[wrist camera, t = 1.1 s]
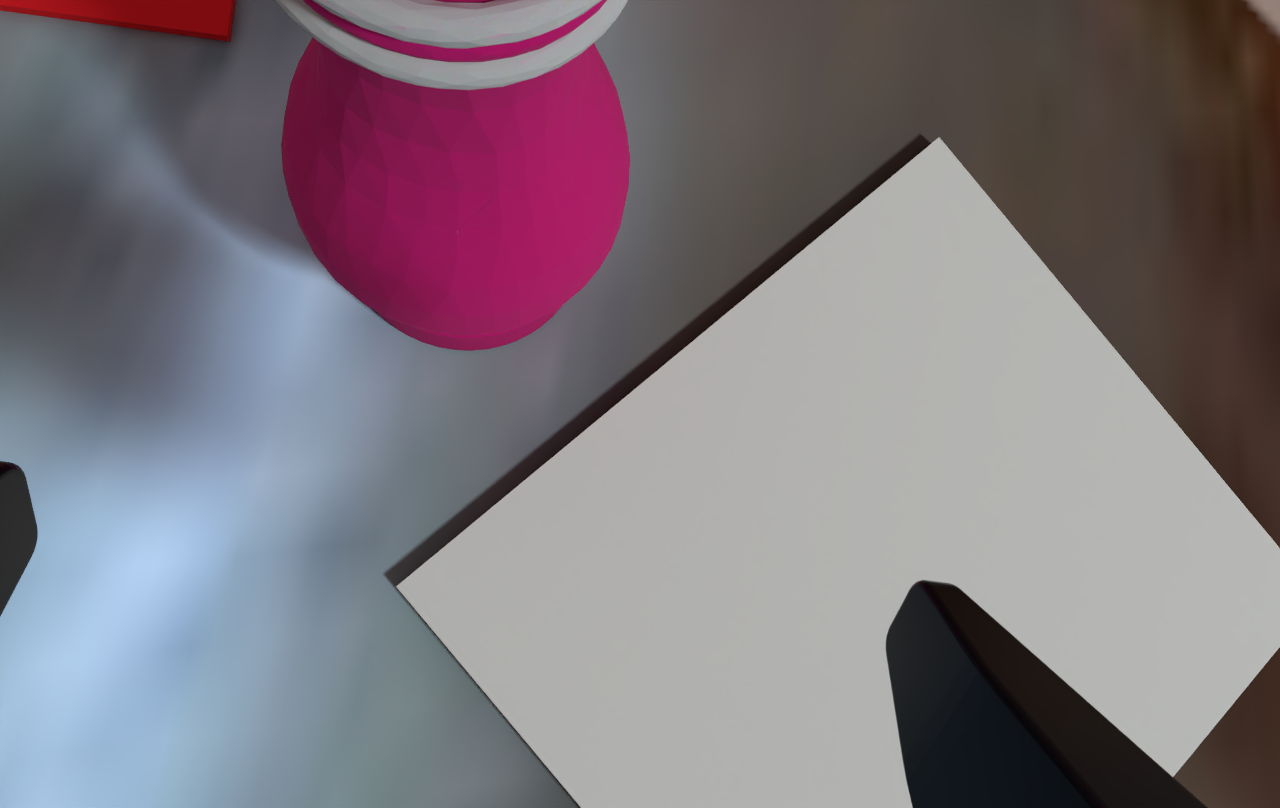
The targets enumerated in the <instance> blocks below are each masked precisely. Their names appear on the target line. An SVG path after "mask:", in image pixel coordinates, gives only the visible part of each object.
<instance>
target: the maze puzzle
mask: <svg viewBox="0 0 1280 808" xmlns="http://www.w3.org/2000/svg"><path fill="white" fill-rule="evenodd" d="M234 7H235V0H0V10H2V11H9V12H16V13H24V14H31V15H38V16H46V17H53V18H60V19H68V20H75V21H82V22H90V23H97V24H105V25H112V26H119V27H127V28H134V29H141V30H149V31H156V32H163V33H171V34H178V35H185V36H193V37H200V38H207V39H215V40H222V41H230V38H231V30H232V22H233V15H234Z"/></svg>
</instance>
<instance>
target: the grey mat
mask: <svg viewBox="0 0 1280 808" xmlns="http://www.w3.org/2000/svg"><path fill="white" fill-rule="evenodd" d="M920 580H929V581H937V582H944V583H950V584H953V585H955V586H957V587H958V588H960V589H961V590H962V591H963V592H964V593H965V594H967V595H968V596H969V597H970V598H971V599H972V600H973V601H974V602H976V603H977V604H978V605H979V606H980V607H981V608H982V609H984V610H985V611H986V612H987V613H988V614H989V615H990V616H991V617H993V618H994V619H995V620H996V621H997V622H998V623H999V624H1000V625H1002V626H1003V627H1004V628H1005V629H1006V630H1007V631H1008V632H1010V633H1011V634H1012V635H1013V636H1014V637H1015V638H1016V639H1017V640H1019V641H1020V642H1021V643H1022V644H1023V645H1024V646H1025V647H1026V648H1028V649H1029V650H1030V651H1031V652H1032V653H1033V654H1034V655H1036V656H1037V657H1038V658H1039V659H1040V660H1041V661H1042V662H1043V663H1045V664H1046V665H1047V666H1048V667H1049V668H1050V669H1051V670H1052V671H1054V672H1055V673H1056V674H1057V675H1058V676H1059V677H1060V678H1061V679H1063V680H1064V681H1065V682H1066V683H1067V684H1068V685H1069V686H1071V687H1072V688H1073V689H1074V690H1075V691H1076V692H1077V693H1078V694H1080V695H1081V696H1082V697H1083V698H1084V699H1085V700H1086V701H1087V702H1089V703H1090V704H1091V705H1092V706H1093V707H1094V708H1095V709H1097V710H1098V711H1099V712H1100V713H1101V714H1102V715H1103V716H1104V717H1106V718H1107V719H1108V720H1109V721H1110V722H1111V723H1112V724H1113V725H1115V726H1116V727H1117V728H1118V729H1119V730H1120V731H1121V732H1123V733H1124V734H1125V735H1126V736H1127V737H1128V738H1129V739H1130V740H1132V741H1133V742H1134V743H1135V744H1136V745H1137V746H1138V747H1139V748H1141V749H1142V750H1143V751H1144V752H1145V753H1146V754H1147V755H1148V756H1150V757H1151V758H1152V759H1153V760H1154V761H1155V762H1156V763H1158V764H1159V765H1160V766H1161V767H1162V768H1163V769H1164V770H1165V771H1167V772H1168V773H1169V774H1170V775H1171V776H1172V777H1173V776H1174V775H1175V774H1176V773H1177V772H1178V770H1179V769H1180V768H1181V767H1182V765H1183V764H1184V763H1185V762H1186V761H1187V759H1188V758H1189V757H1190V756H1191V754H1192V753H1193V752H1194V751H1195V750H1196V748H1197V747H1198V746H1199V745H1200V743H1201V742H1202V741H1203V740H1204V739H1205V737H1206V736H1207V735H1208V734H1209V732H1210V731H1211V730H1212V729H1213V728H1214V726H1215V725H1216V724H1217V723H1218V721H1219V720H1220V719H1221V718H1222V717H1223V715H1224V714H1225V713H1226V712H1227V711H1228V709H1229V708H1230V707H1231V706H1232V704H1233V703H1234V702H1235V701H1236V700H1237V698H1238V697H1239V696H1240V695H1241V693H1242V692H1243V691H1244V690H1245V689H1246V687H1247V686H1248V685H1249V684H1250V682H1251V681H1252V680H1253V679H1254V678H1255V676H1256V675H1257V674H1258V673H1259V671H1260V670H1261V669H1262V668H1263V667H1264V665H1265V664H1266V663H1267V662H1268V660H1269V659H1270V658H1271V657H1272V656H1273V654H1274V653H1275V652H1276V651H1277V649H1278V648H1279V647H1280V548H1279V547H1278V546H1277V545H1276V543H1275V542H1274V541H1273V540H1272V538H1271V537H1270V536H1269V535H1268V534H1267V532H1266V531H1265V530H1264V529H1263V528H1262V526H1261V525H1260V524H1259V523H1258V522H1257V520H1256V519H1255V518H1254V517H1253V516H1252V514H1251V513H1250V512H1249V511H1248V509H1247V508H1246V507H1245V506H1244V505H1243V503H1242V502H1241V501H1240V500H1239V499H1238V497H1237V496H1236V495H1235V494H1234V493H1233V491H1232V490H1231V489H1230V488H1229V487H1228V485H1227V484H1226V483H1225V482H1224V481H1223V479H1222V478H1221V477H1220V476H1219V474H1218V473H1217V472H1216V471H1215V470H1214V468H1213V467H1212V466H1211V465H1210V464H1209V462H1208V461H1207V460H1206V459H1205V458H1204V456H1203V455H1202V454H1201V453H1200V452H1199V450H1198V449H1197V448H1196V447H1195V445H1194V444H1193V443H1192V442H1191V441H1190V439H1189V438H1188V437H1187V436H1186V435H1185V433H1184V432H1183V431H1182V430H1181V429H1180V427H1179V426H1178V425H1177V424H1176V423H1175V421H1174V420H1173V419H1172V418H1171V417H1170V415H1169V414H1168V413H1167V412H1166V410H1165V409H1164V408H1163V407H1162V406H1161V404H1160V403H1159V402H1158V401H1157V400H1156V398H1155V397H1154V396H1153V395H1152V394H1151V392H1150V391H1149V390H1148V389H1147V388H1146V386H1145V385H1144V384H1143V383H1142V381H1141V380H1140V379H1139V378H1138V377H1137V375H1136V374H1135V373H1134V372H1133V371H1132V369H1131V368H1130V367H1129V366H1128V365H1127V363H1126V362H1125V361H1124V360H1123V359H1122V357H1121V356H1120V355H1119V354H1118V353H1117V351H1116V350H1115V349H1114V348H1113V346H1112V345H1111V344H1110V343H1109V342H1108V340H1107V339H1106V338H1105V337H1104V336H1103V334H1102V333H1101V332H1100V331H1099V330H1098V328H1097V327H1096V326H1095V325H1094V324H1093V322H1092V321H1091V320H1090V319H1089V317H1088V316H1087V315H1086V314H1085V313H1084V311H1083V310H1082V309H1081V308H1080V307H1079V305H1078V304H1077V303H1076V302H1075V301H1074V299H1073V298H1072V297H1071V296H1070V295H1069V293H1068V292H1067V291H1066V290H1065V289H1064V287H1063V286H1062V285H1061V284H1060V282H1059V281H1058V280H1057V279H1056V278H1055V276H1054V275H1053V274H1052V273H1051V272H1050V270H1049V269H1048V268H1047V267H1046V266H1045V264H1044V263H1043V262H1042V261H1041V260H1040V258H1039V257H1038V256H1037V255H1036V253H1035V252H1034V251H1033V250H1032V249H1031V247H1030V246H1029V245H1028V244H1027V243H1026V241H1025V240H1024V239H1023V238H1022V237H1021V235H1020V234H1019V233H1018V232H1017V231H1016V229H1015V228H1014V227H1013V226H1012V225H1011V223H1010V222H1009V221H1008V220H1007V218H1006V217H1005V216H1004V215H1003V214H1002V212H1001V211H1000V210H999V209H998V208H997V206H996V205H995V204H994V203H993V202H992V200H991V199H990V198H989V197H988V196H987V194H986V193H985V192H984V191H983V189H982V188H981V187H980V186H979V185H978V183H977V182H976V181H975V180H974V179H973V177H972V176H971V175H970V174H969V173H968V171H967V170H966V169H965V168H964V167H963V165H962V164H961V163H960V162H959V161H958V159H957V158H956V157H955V156H954V154H953V153H952V152H951V151H950V150H949V148H948V147H947V146H946V145H945V144H944V142H943V141H942V140H941V139H940V138H938V139H936V140H935V141H934V142H933V143H932V144H930V145H929V146H928V147H927V148H925V149H924V150H923V151H922V152H921V153H919V154H918V155H917V156H916V157H915V158H913V159H912V160H911V161H910V162H909V163H907V164H906V165H905V166H904V167H903V168H901V169H900V170H899V171H898V172H896V173H895V174H894V175H893V176H892V177H890V178H889V179H888V180H887V181H886V182H884V183H883V184H882V185H881V186H880V187H878V188H877V189H876V190H875V191H874V192H872V193H871V194H870V195H869V196H867V197H866V198H865V199H864V200H863V201H861V202H860V203H859V204H858V205H857V206H855V207H854V208H853V209H852V210H851V211H849V212H848V213H847V214H846V215H845V216H843V217H842V218H841V219H840V220H838V221H837V222H836V223H835V224H834V225H832V226H831V227H830V228H829V229H828V230H826V231H825V232H824V233H823V234H822V235H820V236H819V237H818V238H817V239H816V240H814V241H813V242H812V243H811V244H809V245H808V246H807V247H806V248H805V249H803V250H802V251H801V252H800V253H799V254H797V255H796V256H795V257H794V258H793V259H791V260H790V261H789V262H788V263H787V264H785V265H784V266H783V267H782V268H780V269H779V270H778V271H777V272H776V273H774V274H773V275H772V276H771V277H770V278H768V279H767V280H766V281H765V282H764V283H762V284H761V285H760V286H759V287H758V288H756V289H755V290H754V291H753V292H751V293H750V294H749V295H748V296H747V297H745V298H744V299H743V300H742V301H741V302H739V303H738V304H737V305H736V306H735V307H733V308H732V309H731V310H730V311H729V312H727V313H726V314H725V315H724V316H722V317H721V318H720V319H719V320H718V321H716V322H715V323H714V324H713V325H712V326H710V327H709V328H708V329H707V330H706V331H704V332H703V333H702V334H701V335H700V336H698V337H697V338H696V339H695V340H693V341H692V342H691V343H690V344H689V345H687V346H686V347H685V348H684V349H683V350H681V351H680V352H679V353H678V354H677V355H675V356H674V357H673V358H672V359H671V360H669V361H668V362H667V363H666V364H664V365H663V366H662V367H661V368H660V369H658V370H657V371H656V372H655V373H654V374H652V375H651V376H650V377H649V378H648V379H646V380H645V381H644V382H643V383H641V384H640V385H639V386H638V387H637V388H635V389H634V390H633V391H632V392H631V393H629V394H628V395H627V396H626V397H625V398H623V399H622V400H621V401H620V402H619V403H617V404H616V405H615V406H614V407H612V408H611V409H610V410H609V411H608V412H606V413H605V414H604V415H603V416H602V417H600V418H599V419H598V420H597V421H596V422H594V423H593V424H592V425H591V426H590V427H588V428H587V429H586V430H585V431H583V432H582V433H581V434H580V435H579V436H577V437H576V438H575V439H574V440H573V441H571V442H570V443H569V444H568V445H567V446H565V447H564V448H563V449H562V450H561V451H559V452H558V453H557V454H556V455H554V456H553V457H552V458H551V459H550V460H548V461H547V462H546V463H545V464H544V465H542V466H541V467H540V468H539V469H538V470H536V471H535V472H534V473H533V474H532V475H530V476H529V477H528V478H527V479H525V480H524V481H523V482H522V483H521V484H519V485H518V486H517V487H516V488H515V489H513V490H512V491H511V492H510V493H509V494H507V495H506V496H505V497H504V498H503V499H501V500H500V501H499V502H498V503H496V504H495V505H494V506H493V507H492V508H490V509H489V510H488V511H487V512H486V513H484V514H483V515H482V516H481V517H480V518H478V519H477V520H476V521H475V522H474V523H472V524H471V525H470V526H469V527H467V528H466V529H465V530H464V531H463V532H461V533H460V534H459V535H458V536H457V537H455V538H454V539H453V540H452V541H451V542H449V543H448V544H447V545H446V546H445V547H443V548H442V549H441V550H440V551H438V552H437V553H436V554H435V555H434V556H432V557H431V558H430V559H429V560H428V561H426V562H425V563H424V564H423V565H422V566H420V567H419V568H418V569H417V570H416V571H414V572H413V573H412V574H411V575H409V576H408V577H407V578H406V579H405V580H403V581H402V582H401V583H400V584H399V585H397V586H396V587H397V588H398V589H399V591H400V592H401V593H402V594H403V595H404V597H405V598H406V599H407V600H408V601H409V603H410V604H411V605H412V606H413V607H414V609H415V610H416V611H417V612H418V613H419V614H420V616H421V617H422V618H423V619H424V620H425V622H426V623H427V624H428V625H429V626H430V628H431V629H432V630H433V631H434V632H435V634H436V635H437V636H438V637H439V638H440V640H441V641H442V642H443V643H444V644H445V646H446V647H447V648H448V649H449V650H450V652H451V653H452V654H453V655H454V656H455V658H456V659H457V660H458V661H459V662H460V664H461V665H462V666H463V667H464V668H465V670H466V671H467V672H468V673H469V674H470V676H471V677H472V678H473V679H474V680H475V681H476V683H477V684H478V685H479V686H480V687H481V689H482V690H483V691H484V692H485V693H486V695H487V696H488V697H489V698H490V699H491V701H492V702H493V703H494V704H495V705H496V707H497V708H498V709H499V710H500V711H501V713H502V714H503V715H504V716H505V717H506V719H507V720H508V721H509V722H510V723H511V725H512V726H513V727H514V728H515V729H516V731H517V732H518V733H519V734H520V735H521V737H522V738H523V739H524V740H525V741H526V743H527V744H528V745H529V746H530V747H531V748H532V750H533V751H534V752H535V753H536V754H537V756H538V757H539V758H540V759H541V760H542V762H543V763H544V764H545V765H546V766H547V768H548V769H549V770H550V771H551V772H552V774H553V775H554V776H555V777H556V778H557V780H558V781H559V782H560V783H561V784H562V786H563V787H564V788H565V789H566V790H567V792H568V793H569V794H570V795H571V796H572V798H573V799H574V800H575V801H576V802H577V804H578V805H579V806H580V807H581V808H913V807H912V803H911V798H910V794H909V790H908V786H907V781H906V776H905V771H904V765H903V760H902V753H901V747H900V740H899V734H898V728H897V721H896V715H895V708H894V702H893V695H892V689H891V682H890V676H889V670H888V663H887V657H886V636H887V633H888V630H889V627H890V625H891V623H892V621H893V620H894V618H895V616H896V614H897V612H898V610H899V608H900V606H901V605H902V603H903V601H904V599H905V597H906V595H907V593H908V591H909V590H910V588H911V587H912V585H913V584H915V583H916V582H917V581H920Z"/></svg>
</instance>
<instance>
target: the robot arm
mask: <svg viewBox="0 0 1280 808" xmlns="http://www.w3.org/2000/svg"><path fill="white" fill-rule="evenodd" d="M36 542H37V524H36V520H35V515H34V511H33V507H32V502H31V498H30V494H29V489H28V485H27V481H26V477H25V474H24V472H23V470H22V469H21V468H20V467H19V466H18V465H15V464H13V463H10V462H3V461H0V616H1V614H2V612H3V610H4V608H5V606H6V605H7V603H8V601H9V599H10V597H11V595H12V593H13V591H14V589H15V587H16V585H17V583H18V582H19V580H20V578H21V576H22V574H23V572H24V570H25V568H26V566H27V564H28V562H29V561H30V559H31V557H32V554H33V552H34V549H35V546H36ZM886 657H887V663H888V670H889V676H890V682H891V689H892V695H893V702H894V708H895V715H896V721H897V728H898V734H899V740H900V747H901V753H902V760H903V765H904V771H905V776H906V781H907V786H908V790H909V794H910V798H911V803H912V807H913V808H1207V807H1206V806H1205V805H1204V804H1203V803H1202V802H1200V801H1199V800H1198V799H1197V798H1196V797H1195V796H1194V795H1193V794H1191V793H1190V792H1189V791H1188V790H1187V789H1186V788H1185V787H1184V786H1182V785H1181V784H1180V783H1179V782H1178V781H1177V780H1176V779H1174V778H1173V777H1172V776H1171V775H1170V774H1169V773H1168V772H1167V771H1165V770H1164V769H1163V768H1162V767H1161V766H1160V765H1159V764H1158V763H1156V762H1155V761H1154V760H1153V759H1152V758H1151V757H1150V756H1148V755H1147V754H1146V753H1145V752H1144V751H1143V750H1142V749H1141V748H1139V747H1138V746H1137V745H1136V744H1135V743H1134V742H1133V741H1132V740H1130V739H1129V738H1128V737H1127V736H1126V735H1125V734H1124V733H1123V732H1121V731H1120V730H1119V729H1118V728H1117V727H1116V726H1115V725H1113V724H1112V723H1111V722H1110V721H1109V720H1108V719H1107V718H1106V717H1104V716H1103V715H1102V714H1101V713H1100V712H1099V711H1098V710H1097V709H1095V708H1094V707H1093V706H1092V705H1091V704H1090V703H1089V702H1087V701H1086V700H1085V699H1084V698H1083V697H1082V696H1081V695H1080V694H1078V693H1077V692H1076V691H1075V690H1074V689H1073V688H1072V687H1071V686H1069V685H1068V684H1067V683H1066V682H1065V681H1064V680H1063V679H1061V678H1060V677H1059V676H1058V675H1057V674H1056V673H1055V672H1054V671H1052V670H1051V669H1050V668H1049V667H1048V666H1047V665H1046V664H1045V663H1043V662H1042V661H1041V660H1040V659H1039V658H1038V657H1037V656H1036V655H1034V654H1033V653H1032V652H1031V651H1030V650H1029V649H1028V648H1026V647H1025V646H1024V645H1023V644H1022V643H1021V642H1020V641H1019V640H1017V639H1016V638H1015V637H1014V636H1013V635H1012V634H1011V633H1010V632H1008V631H1007V630H1006V629H1005V628H1004V627H1003V626H1002V625H1000V624H999V623H998V622H997V621H996V620H995V619H994V618H993V617H991V616H990V615H989V614H988V613H987V612H986V611H985V610H984V609H982V608H981V607H980V606H979V605H978V604H977V603H976V602H974V601H973V600H972V599H971V598H970V597H969V596H968V595H967V594H965V593H964V592H963V591H962V590H961V589H960V588H958V587H957V586H955V585H953V584H950V583H944V582H937V581H929V580H920V581H917V582H916V583H915V584H913V585H912V587H911V588H910V590H909V591H908V593H907V595H906V597H905V599H904V601H903V603H902V605H901V606H900V608H899V610H898V612H897V614H896V616H895V618H894V620H893V621H892V623H891V625H890V627H889V630H888V633H887V636H886Z"/></svg>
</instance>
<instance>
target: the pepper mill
mask: <svg viewBox="0 0 1280 808" xmlns="http://www.w3.org/2000/svg"><path fill="white" fill-rule="evenodd" d="M627 1H628V0H276V2H277V3H278V4H279V5H280V6H281V7H282V8H283V10H284V11H285V12H286V13H287V14H288V15H289V17H290V18H291V19H292V20H294V21H295V22H296V23H297V24H298V25H299V26H301V27H302V28H303V29H304V30H305V31H306V32H308V33H309V34H310V35H311V36H312V37H313V38H312V40H311V42H310V43H309V45H308V47H307V49H306V50H305V52H304V54H303V56H302V57H301V59H300V61H299V63H298V66H297V69H296V71H295V74H294V77H293V79H292V82H291V85H290V90H289V96H288V101H287V106H286V111H285V117H284V126H283V135H282V144H281V146H282V163H283V173H284V177H285V181H286V185H287V190H288V194H289V198H290V200H291V203H292V206H293V209H294V212H295V215H296V218H297V220H298V223H299V226H300V228H301V230H302V232H303V233H304V235H305V237H306V239H307V241H308V243H309V245H310V247H311V248H312V250H313V252H314V254H315V255H316V257H317V258H318V259H319V260H320V262H321V263H322V264H323V265H324V267H325V268H326V269H327V270H328V272H329V273H330V274H331V275H332V276H333V278H334V279H335V280H336V281H337V282H338V283H339V284H340V285H342V286H343V287H344V288H345V289H346V290H348V291H349V292H350V293H351V294H352V295H354V296H355V297H356V298H357V299H359V300H360V301H361V302H362V303H364V304H365V305H367V306H369V307H370V308H372V309H374V310H376V311H377V313H378V314H379V315H380V316H381V317H382V318H384V319H385V320H386V321H387V322H389V323H390V324H391V325H392V326H394V327H395V328H396V329H398V330H400V331H401V332H403V333H405V334H406V335H408V336H410V337H412V338H415V339H417V340H419V341H421V342H424V343H427V344H431V345H434V346H437V347H441V348H448V349H454V350H482V349H490V348H494V347H498V346H503V345H506V344H509V343H512V342H514V341H517V340H519V339H521V338H523V337H525V336H527V335H529V334H531V333H532V332H534V331H535V330H537V329H538V328H540V327H541V326H542V325H543V324H545V323H546V322H547V321H548V320H549V319H550V318H551V317H553V315H554V314H555V313H556V312H557V311H558V310H559V309H560V307H561V306H562V305H563V304H564V303H565V302H567V301H568V300H569V299H570V298H571V297H573V296H574V295H575V294H576V293H577V292H579V291H580V290H581V289H582V288H583V287H584V286H585V285H586V284H587V282H588V281H589V280H590V279H591V278H592V276H593V275H594V274H595V273H596V272H597V271H598V269H599V268H600V266H601V265H602V263H603V261H604V260H605V258H606V256H607V255H608V253H609V251H610V250H611V248H612V245H613V243H614V240H615V238H616V235H617V233H618V230H619V227H620V224H621V220H622V215H623V210H624V205H625V201H626V196H627V191H628V185H629V167H630V154H629V145H628V137H627V131H626V126H625V122H624V117H623V113H622V109H621V105H620V101H619V97H618V93H617V90H616V87H615V85H614V83H613V80H612V78H611V76H610V74H609V72H608V69H607V67H606V65H605V63H604V61H603V59H602V58H601V56H600V54H599V52H598V50H597V48H596V46H595V45H594V42H595V41H596V40H597V39H598V38H600V37H601V36H602V35H603V34H604V33H605V32H606V31H607V29H608V28H609V27H610V26H611V25H612V24H613V22H614V21H615V20H616V19H617V17H618V16H619V14H620V13H621V11H622V9H623V8H624V6H625V4H626V2H627Z"/></svg>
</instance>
